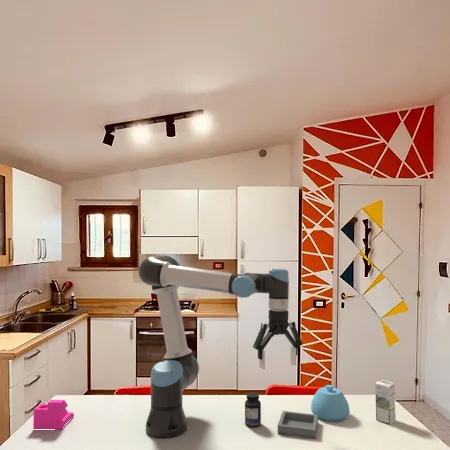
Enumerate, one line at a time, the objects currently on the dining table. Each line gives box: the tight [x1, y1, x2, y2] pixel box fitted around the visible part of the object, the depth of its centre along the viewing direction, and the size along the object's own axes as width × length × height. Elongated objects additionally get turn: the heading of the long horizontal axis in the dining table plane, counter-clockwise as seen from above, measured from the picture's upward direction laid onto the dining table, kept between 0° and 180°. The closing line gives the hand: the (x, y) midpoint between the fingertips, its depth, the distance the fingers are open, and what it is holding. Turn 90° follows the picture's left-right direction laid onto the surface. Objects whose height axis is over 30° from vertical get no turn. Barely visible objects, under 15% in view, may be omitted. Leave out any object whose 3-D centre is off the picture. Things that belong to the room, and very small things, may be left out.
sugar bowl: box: [310, 384, 351, 423], centre depth 160 cm, size 15×15×12 cm
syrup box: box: [374, 379, 396, 425], centre depth 155 cm, size 6×6×14 cm
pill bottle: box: [244, 392, 262, 428], centre depth 151 cm, size 6×6×11 cm
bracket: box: [32, 399, 75, 431], centre depth 152 cm, size 12×10×10 cm
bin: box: [277, 410, 319, 440], centre depth 148 cm, size 13×13×3 cm
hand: (277, 366), depth 150 cm, fingers open, 13 cm apart
